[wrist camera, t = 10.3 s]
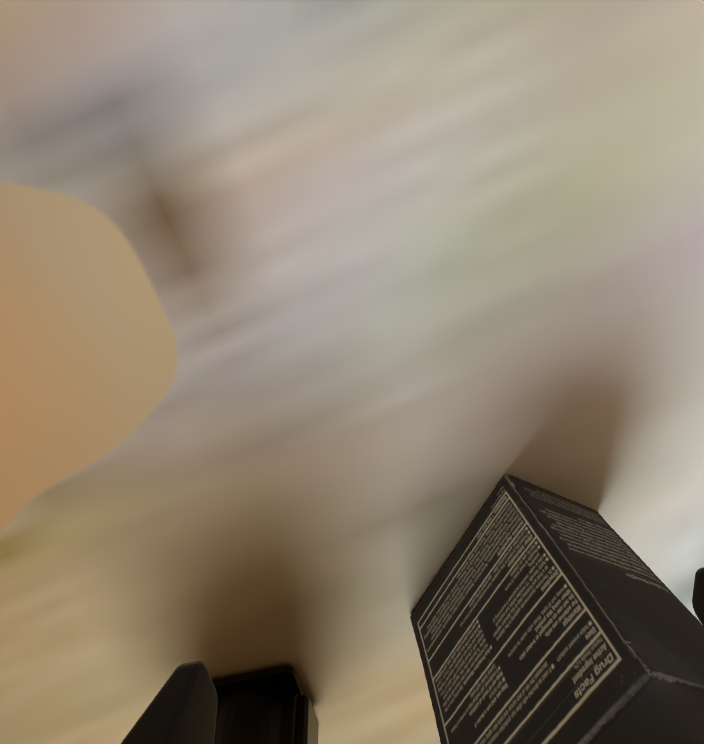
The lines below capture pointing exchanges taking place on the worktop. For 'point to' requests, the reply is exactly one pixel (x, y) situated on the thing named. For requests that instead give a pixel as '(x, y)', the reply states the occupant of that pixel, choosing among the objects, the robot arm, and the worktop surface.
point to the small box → (556, 633)
